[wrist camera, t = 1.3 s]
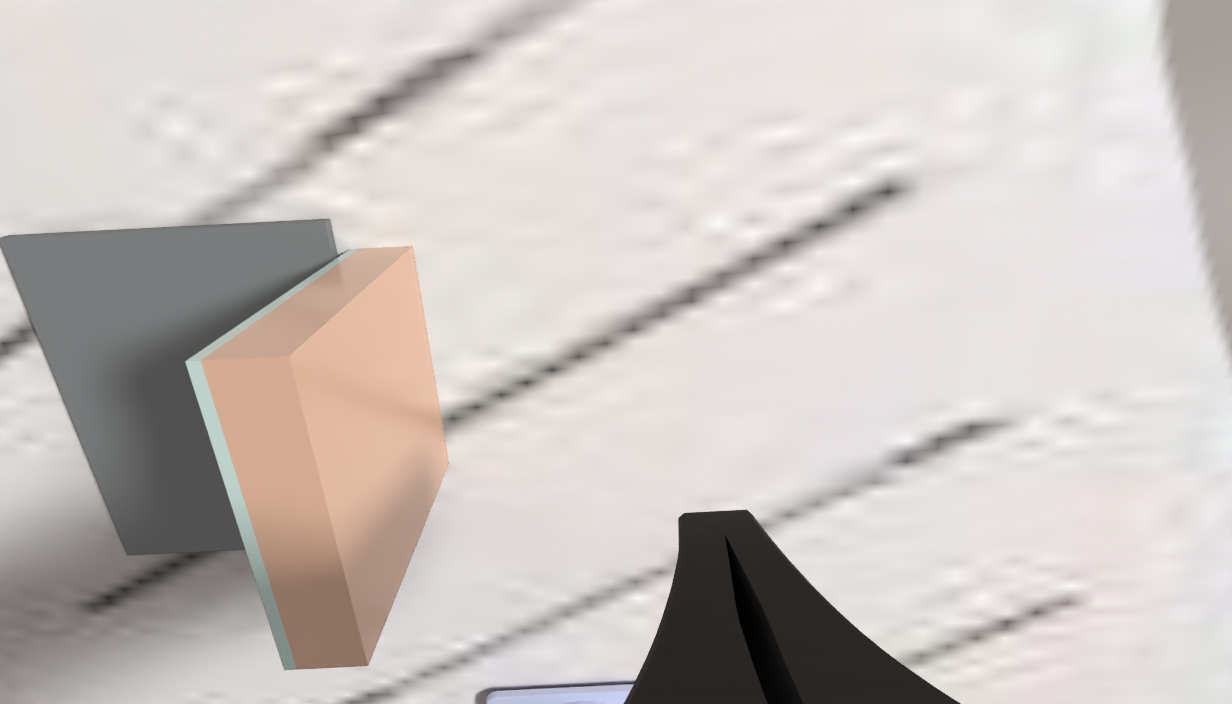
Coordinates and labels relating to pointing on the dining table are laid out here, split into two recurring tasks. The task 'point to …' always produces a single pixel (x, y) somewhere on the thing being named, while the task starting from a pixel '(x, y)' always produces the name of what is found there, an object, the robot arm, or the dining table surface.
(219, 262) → the mat
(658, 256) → the dining table surface
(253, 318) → the peach green flat block
